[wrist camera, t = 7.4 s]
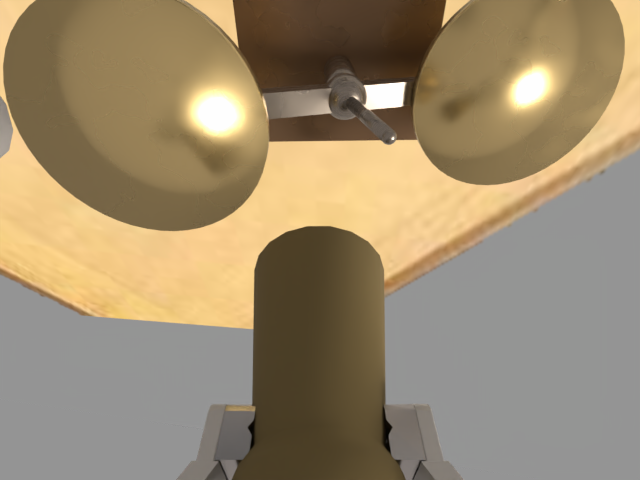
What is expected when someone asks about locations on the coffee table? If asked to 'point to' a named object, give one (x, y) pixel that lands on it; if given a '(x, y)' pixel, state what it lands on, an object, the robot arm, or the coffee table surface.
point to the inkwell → (5, 128)
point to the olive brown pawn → (319, 360)
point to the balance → (297, 91)
